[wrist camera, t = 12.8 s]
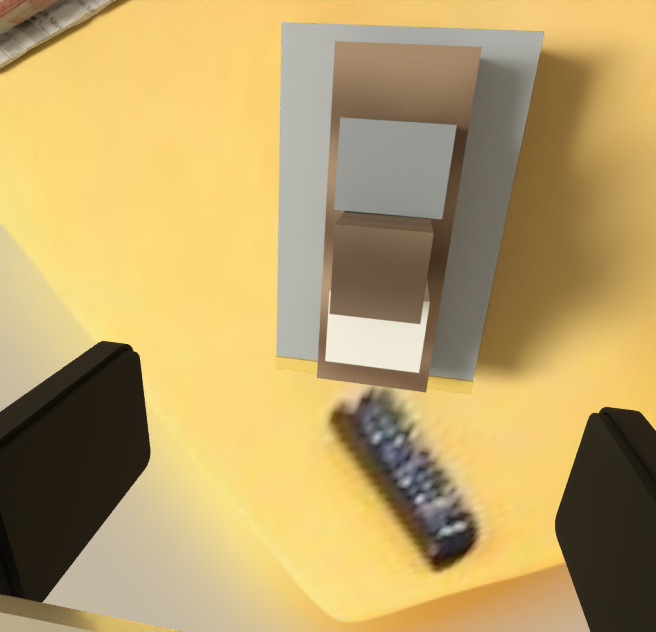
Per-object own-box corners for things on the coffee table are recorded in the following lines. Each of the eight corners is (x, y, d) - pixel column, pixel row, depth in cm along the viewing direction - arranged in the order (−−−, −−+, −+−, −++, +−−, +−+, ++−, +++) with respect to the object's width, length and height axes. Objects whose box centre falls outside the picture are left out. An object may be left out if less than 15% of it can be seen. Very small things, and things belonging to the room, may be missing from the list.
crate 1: (350, 118, 24) (340, 117, 20) (449, 124, 23) (456, 124, 20) (344, 197, 25) (334, 209, 22) (437, 205, 25) (442, 219, 21)
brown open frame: (343, 51, 26) (306, 8, 16) (472, 56, 25) (511, 14, 15) (325, 354, 33) (292, 445, 24) (424, 366, 32) (430, 466, 23)
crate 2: (340, 268, 27) (329, 291, 23) (427, 277, 26) (429, 302, 23) (335, 330, 29) (325, 360, 25) (417, 340, 28) (419, 373, 24)
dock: (300, 37, 30) (280, 21, 26) (523, 46, 29) (545, 30, 24) (291, 340, 39) (275, 370, 34) (462, 361, 37) (470, 395, 32)
